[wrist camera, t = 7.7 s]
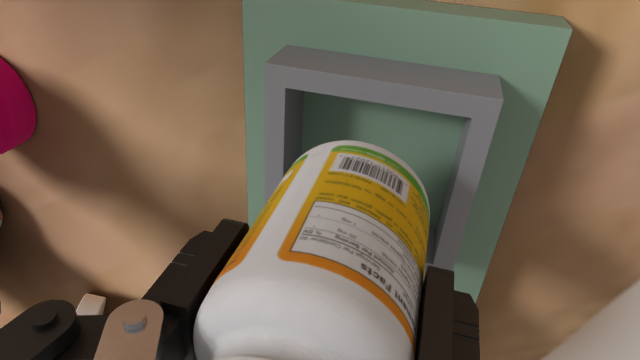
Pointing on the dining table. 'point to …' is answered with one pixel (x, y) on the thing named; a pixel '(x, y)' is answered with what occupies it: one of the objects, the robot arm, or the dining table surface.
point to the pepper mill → (14, 109)
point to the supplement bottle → (325, 265)
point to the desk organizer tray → (404, 103)
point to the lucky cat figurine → (0, 218)
